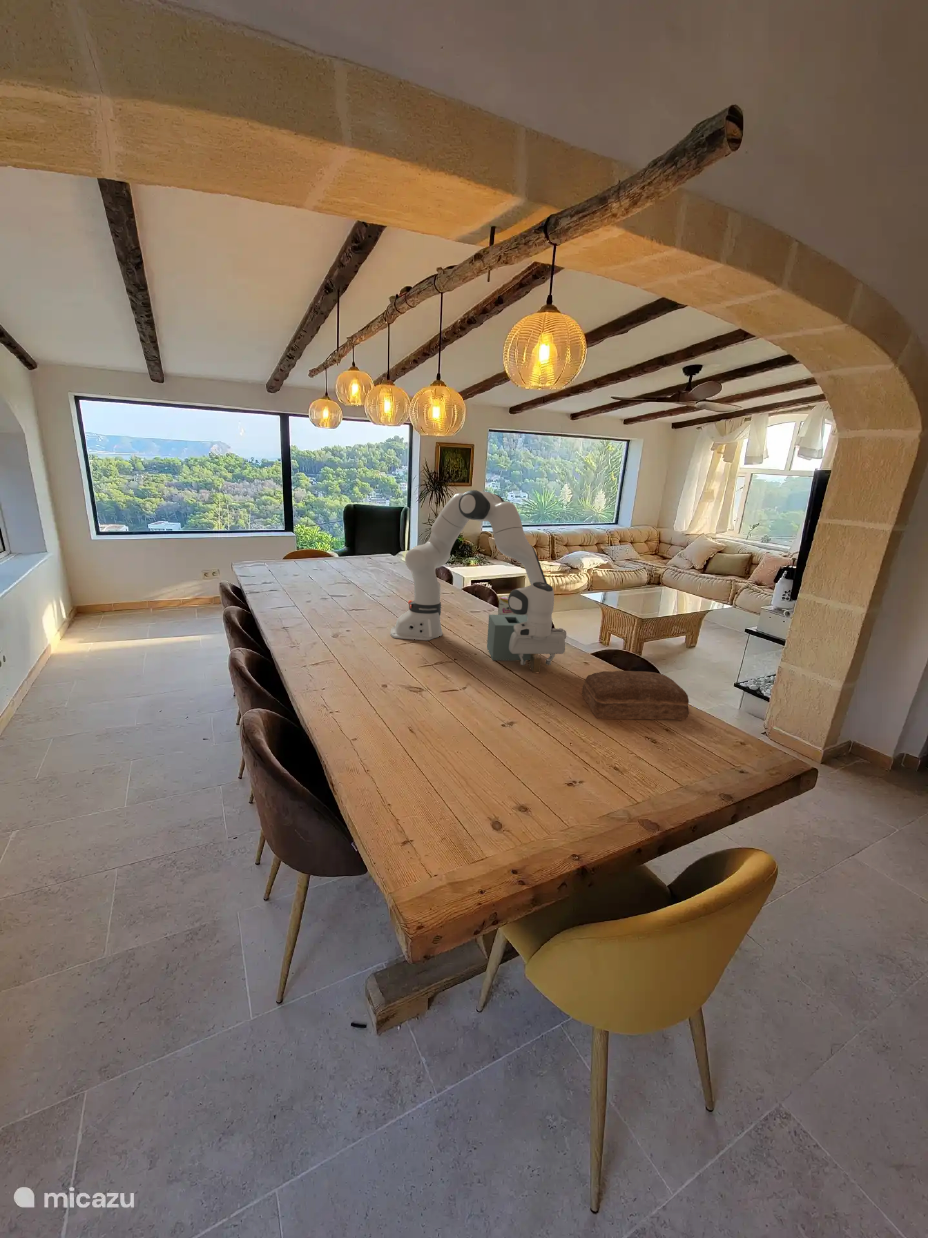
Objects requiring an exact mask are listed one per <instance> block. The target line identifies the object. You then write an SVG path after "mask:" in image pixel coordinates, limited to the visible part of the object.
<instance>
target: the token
mask: <svg viewBox="0 0 928 1238" xmlns="http://www.w3.org/2000/svg"><path fill="white" fill-rule="evenodd" d="M541 662H542V658H541V657H540V654H531V655H530V661H529V669H530V668H531V669H530V671H531V672H532V671H533V672H541V665H542V664H541ZM533 672H532V673H533Z"/></svg>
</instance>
